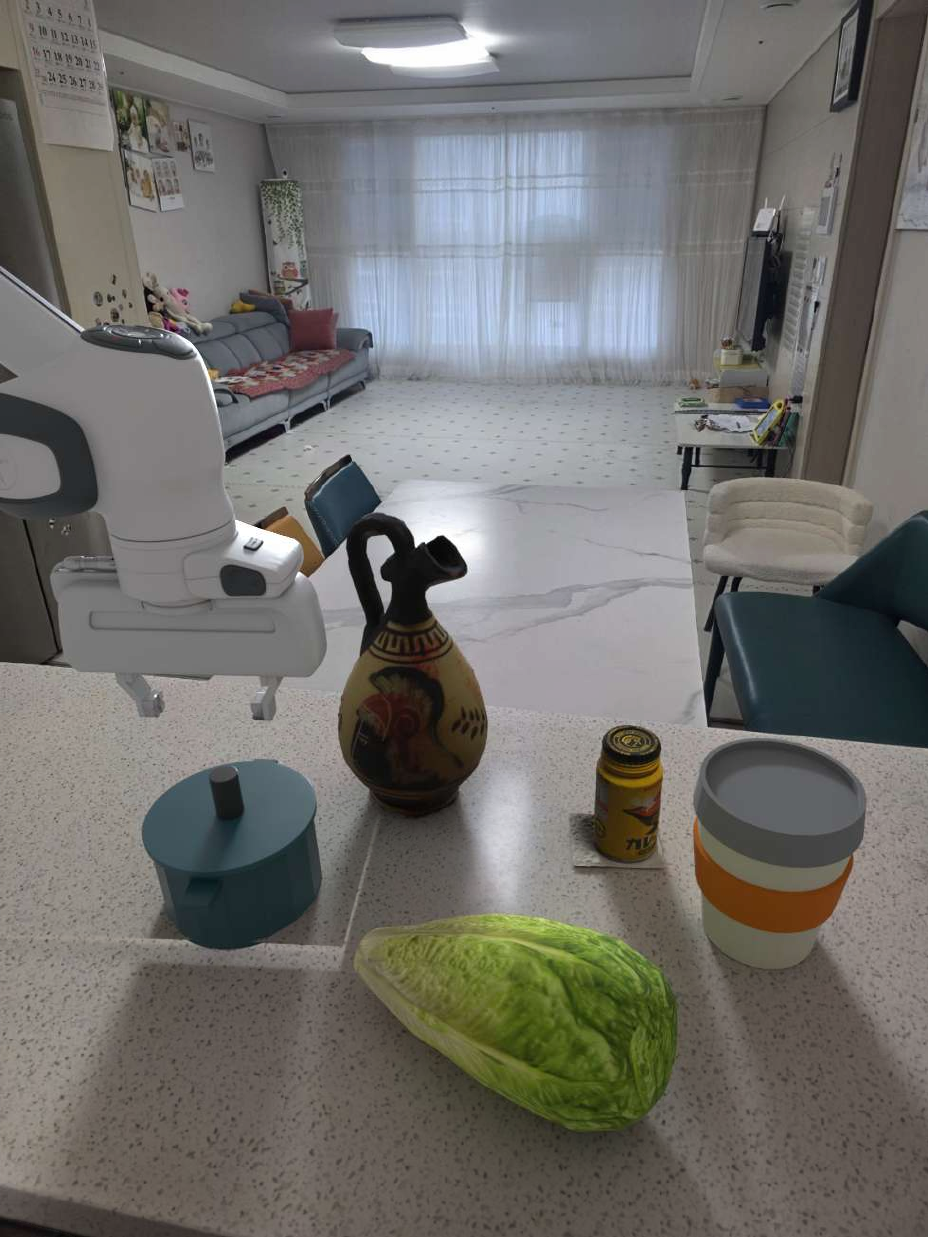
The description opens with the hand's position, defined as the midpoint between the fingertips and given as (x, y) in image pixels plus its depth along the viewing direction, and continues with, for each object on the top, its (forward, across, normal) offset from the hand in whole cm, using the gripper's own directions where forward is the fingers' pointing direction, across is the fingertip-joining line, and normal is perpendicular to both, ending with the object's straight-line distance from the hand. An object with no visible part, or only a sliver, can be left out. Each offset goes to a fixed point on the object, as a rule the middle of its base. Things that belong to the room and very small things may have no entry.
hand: (208, 715), depth 67 cm
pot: (+19, +1, 0) cm, 19 cm away
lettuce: (+19, +25, -14) cm, 34 cm away
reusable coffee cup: (+18, +46, -2) cm, 49 cm away
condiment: (+19, +34, +8) cm, 40 cm away
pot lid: (+10, 0, 0) cm, 10 cm away
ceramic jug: (+19, +14, +16) cm, 28 cm away
